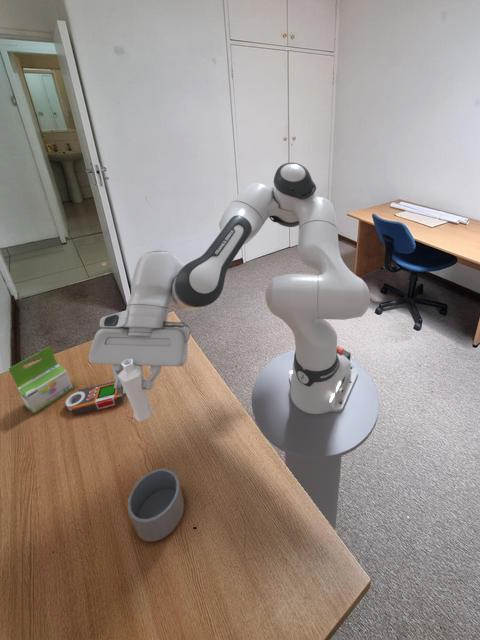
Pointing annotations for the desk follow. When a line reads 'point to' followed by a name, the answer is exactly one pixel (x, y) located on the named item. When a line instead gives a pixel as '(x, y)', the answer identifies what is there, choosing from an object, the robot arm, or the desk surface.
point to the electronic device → (95, 398)
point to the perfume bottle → (135, 389)
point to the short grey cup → (156, 504)
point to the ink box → (41, 380)
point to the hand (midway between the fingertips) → (133, 389)
